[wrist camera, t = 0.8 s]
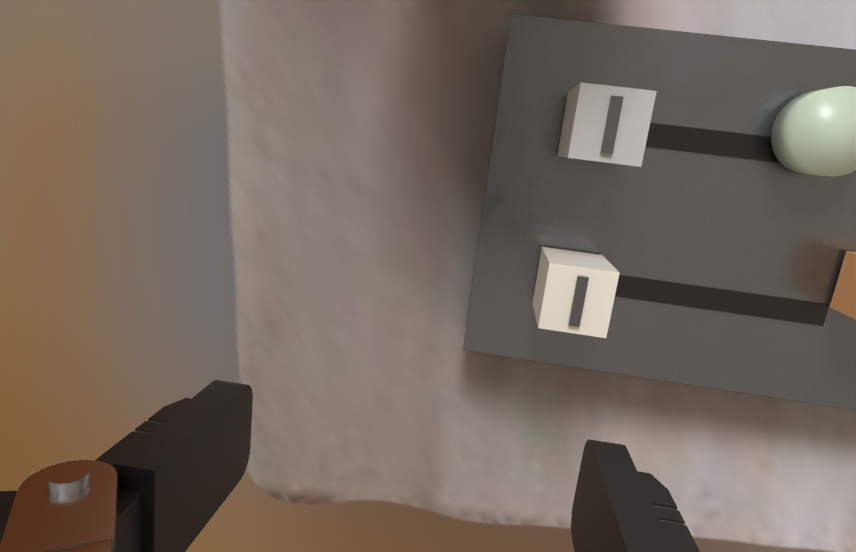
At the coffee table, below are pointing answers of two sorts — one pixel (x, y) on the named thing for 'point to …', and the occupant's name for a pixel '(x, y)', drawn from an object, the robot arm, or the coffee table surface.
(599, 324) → the ivory slider
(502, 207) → the panel
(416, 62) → the coffee table surface
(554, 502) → the coffee table surface
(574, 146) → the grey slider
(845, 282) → the tan box with strip
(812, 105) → the pale green dome
